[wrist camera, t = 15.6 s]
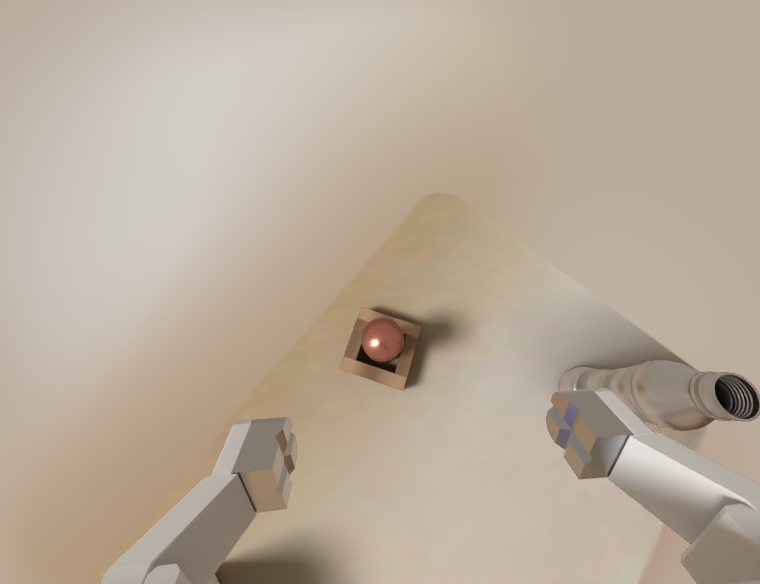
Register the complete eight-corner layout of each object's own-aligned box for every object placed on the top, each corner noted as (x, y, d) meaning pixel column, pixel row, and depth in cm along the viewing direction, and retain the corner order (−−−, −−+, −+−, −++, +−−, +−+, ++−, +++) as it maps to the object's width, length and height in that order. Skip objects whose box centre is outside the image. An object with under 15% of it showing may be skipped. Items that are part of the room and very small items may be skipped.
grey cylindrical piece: (401, 339, 44) (409, 325, 34) (391, 370, 43) (396, 366, 32) (370, 328, 45) (369, 312, 34) (360, 359, 43) (355, 352, 33)
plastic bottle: (588, 426, 41) (771, 463, 22) (543, 396, 42) (681, 405, 23) (606, 387, 42) (793, 388, 23) (563, 358, 44) (707, 337, 25)
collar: (418, 330, 45) (421, 326, 42) (401, 390, 42) (403, 390, 39) (362, 311, 46) (361, 306, 43) (341, 369, 43) (339, 368, 40)
